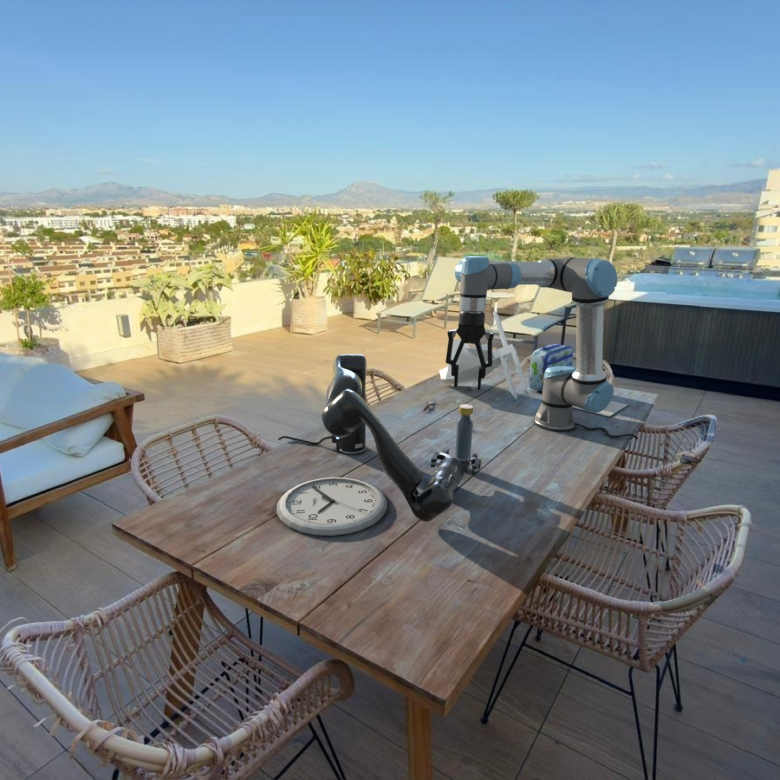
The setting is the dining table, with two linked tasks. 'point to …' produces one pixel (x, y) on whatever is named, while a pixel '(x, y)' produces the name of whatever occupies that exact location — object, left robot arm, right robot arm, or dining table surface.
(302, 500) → the wall clock
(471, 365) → the white plastic object
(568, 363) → the lunch box
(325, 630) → the dining table surface
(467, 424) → the bottle
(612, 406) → the invitation card
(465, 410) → the cap
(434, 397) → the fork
